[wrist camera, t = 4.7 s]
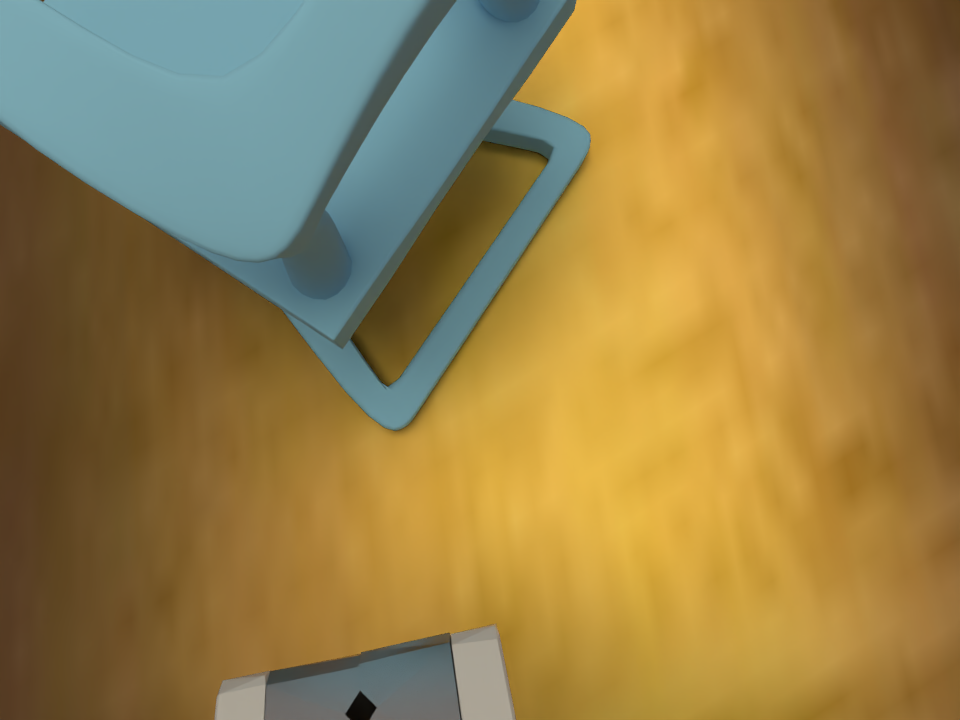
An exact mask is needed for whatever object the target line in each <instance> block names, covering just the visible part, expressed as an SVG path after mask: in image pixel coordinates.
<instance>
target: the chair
mask: <svg viewBox="0 0 960 720" xmlns="http://www.w3.org/2000/svg"><path fill="white" fill-rule="evenodd" d="M575 4H576V0H45V1H44V2H42V1H40V0H0V125H2V126H3V127H5V128H6V129H8V130H10V131H11V132H13V133H14V134H16V135H17V136H19V137H20V138H22V139H23V140H25V141H26V142H27V143H29V144H30V145H31V146H33V147H34V148H35V149H37V150H38V151H40V152H41V153H42V154H44V155H45V156H47V157H48V158H50V159H51V160H53V161H54V162H56V163H57V164H59V165H60V166H62V167H63V168H64V169H66V170H67V171H69V172H70V173H72V174H73V175H75V176H76V177H78V178H79V179H81V180H82V181H84V182H85V183H86V184H88V185H90V186H91V187H93V188H95V189H96V190H98V191H99V192H101V193H103V194H104V195H106V196H108V197H109V198H111V199H112V200H114V201H116V202H117V203H119V204H121V205H122V206H124V207H125V208H127V209H129V210H130V211H132V212H134V213H135V214H137V215H139V216H141V217H142V218H144V219H145V220H147V221H148V222H150V223H152V224H153V225H155V226H156V227H158V228H159V229H161V230H162V231H164V232H165V233H167V234H168V235H170V236H171V237H173V238H175V239H176V240H178V241H179V242H181V243H182V244H184V245H185V246H187V247H188V248H190V249H191V250H193V251H194V252H196V253H197V254H199V255H200V256H202V257H204V258H205V259H207V260H208V261H210V262H211V263H213V264H214V265H216V266H217V267H219V268H220V269H222V270H223V271H225V272H226V273H228V274H229V275H231V276H232V277H234V278H235V279H237V280H238V281H240V282H241V283H243V284H244V285H246V286H247V287H249V288H250V289H252V290H253V291H255V292H256V293H258V294H259V295H261V296H262V297H264V298H265V299H267V300H268V301H270V302H271V303H273V304H274V305H276V306H277V307H279V308H280V309H282V311H283V312H284V313H285V314H286V316H287V317H288V318H289V320H290V321H291V322H292V324H293V325H294V326H295V328H296V329H297V330H298V332H299V333H300V334H301V336H302V337H303V338H304V340H305V341H306V342H307V344H308V345H309V346H310V348H311V349H312V350H313V351H314V353H315V354H316V355H317V356H318V358H319V359H320V360H321V362H322V363H323V364H324V365H325V367H326V368H327V369H328V370H329V372H330V373H331V374H332V375H333V377H334V378H335V379H336V380H337V382H338V383H339V384H340V385H341V387H342V388H343V389H344V390H345V392H346V393H347V394H348V395H349V396H350V397H351V398H352V399H353V400H354V401H355V402H356V403H357V404H358V405H359V406H360V407H361V409H362V410H363V411H364V412H365V413H366V414H367V415H368V416H369V417H371V418H372V419H373V420H375V421H376V422H377V423H379V424H380V425H381V426H383V427H384V428H387V429H390V430H394V431H397V430H400V429H402V428H404V427H406V426H407V425H408V424H409V423H410V422H411V421H412V420H413V419H414V417H415V416H416V414H417V413H418V411H419V410H420V408H421V407H422V405H423V404H424V402H425V401H426V399H427V398H428V396H429V395H430V393H431V392H432V390H433V389H434V387H435V386H436V384H437V383H438V381H439V380H440V378H441V377H442V375H443V374H444V372H445V371H446V369H447V368H448V366H449V364H450V363H451V361H452V360H453V358H454V357H455V355H456V354H457V352H458V351H459V349H460V348H461V346H462V345H463V343H464V342H465V340H466V339H467V337H468V336H469V334H470V333H471V331H472V330H473V328H474V327H475V325H476V324H477V322H478V321H479V319H480V318H481V316H482V315H483V313H484V311H485V310H486V308H487V307H488V305H489V304H490V302H491V301H492V299H493V298H494V296H495V295H496V293H497V292H498V290H499V289H500V287H501V286H502V284H503V283H504V281H505V280H506V278H507V277H508V275H509V274H510V272H511V271H512V269H513V268H514V266H515V265H516V263H517V262H518V260H519V258H520V257H521V255H522V254H523V252H524V251H525V249H526V248H527V246H528V245H529V243H530V242H531V240H532V239H533V237H534V236H535V234H536V233H537V231H538V230H539V228H540V227H541V225H542V224H543V222H544V221H545V219H546V218H547V216H548V215H549V213H550V212H551V210H552V209H553V207H554V205H555V204H556V202H557V201H558V199H559V198H560V196H561V195H562V193H563V192H564V190H565V189H566V187H567V186H568V184H569V183H570V181H571V180H572V178H573V177H574V175H575V174H576V172H577V171H578V169H579V168H580V166H581V164H582V162H583V160H584V159H585V157H586V155H587V153H588V150H589V148H590V141H591V140H590V134H589V132H588V131H587V130H586V129H585V128H584V126H582V125H580V124H578V123H576V122H575V121H573V120H571V119H569V118H568V117H565V116H562V115H559V114H557V113H554V112H551V111H548V110H545V109H543V108H540V107H537V106H533V105H530V104H526V103H522V102H518V101H515V100H512V99H513V98H514V97H515V95H516V94H517V92H518V91H519V90H520V88H521V87H522V85H523V84H524V83H525V81H526V80H527V79H528V77H529V76H530V74H531V73H532V71H533V70H534V69H535V67H536V66H537V64H538V63H539V61H540V60H541V58H542V57H543V55H544V54H545V52H546V51H547V49H548V48H549V47H550V45H551V44H552V42H553V41H554V39H555V38H556V36H557V35H558V33H559V32H560V30H561V29H562V28H563V26H564V25H565V23H566V22H567V20H568V19H569V17H570V16H571V14H572V13H573V11H574V9H575ZM482 141H487V142H492V143H497V144H502V145H507V146H512V147H516V148H520V149H525V150H529V151H534V152H538V153H540V154H541V155H543V156H544V157H546V158H547V159H548V163H547V165H546V167H545V168H544V169H543V171H542V172H541V174H540V175H539V177H538V178H537V180H536V181H535V182H534V184H533V185H532V187H531V188H530V190H529V191H528V193H527V194H526V196H525V197H524V198H523V200H522V201H521V203H520V204H519V206H518V207H517V209H516V210H515V211H514V213H513V214H512V216H511V217H510V219H509V220H508V222H507V223H506V225H505V226H504V227H503V229H502V230H501V232H500V233H499V235H498V236H497V238H496V239H495V240H494V242H493V243H492V245H491V246H490V248H489V249H488V251H487V252H486V254H485V255H484V256H483V258H482V259H481V261H480V262H479V264H478V265H477V267H476V268H475V269H474V271H473V272H472V274H471V275H470V277H469V278H468V280H467V281H466V282H465V284H464V285H463V287H462V288H461V290H460V291H459V293H458V294H457V296H456V297H455V298H454V300H453V301H452V303H451V304H450V306H449V307H448V309H447V310H446V311H445V313H444V314H443V316H442V317H441V319H440V320H439V322H438V323H437V324H436V326H435V327H434V329H433V330H432V332H431V333H430V335H429V336H428V337H427V339H426V340H425V342H424V343H423V345H422V346H421V348H420V349H419V350H418V352H417V353H416V355H415V356H414V358H413V359H412V361H411V362H410V363H409V365H408V366H407V368H406V369H405V371H404V372H403V374H402V375H401V376H400V378H399V379H398V380H396V381H395V382H394V383H392V384H391V385H390V386H388V387H387V386H386V385H384V384H383V383H381V381H380V380H379V378H378V377H377V376H376V374H375V373H374V371H373V370H372V369H371V367H370V366H369V364H368V363H367V362H366V360H365V359H364V357H363V356H362V354H361V353H360V352H359V350H358V349H357V347H356V346H355V344H354V343H353V341H352V340H351V337H352V335H353V334H354V332H355V331H356V329H357V328H358V326H359V325H360V323H361V322H362V320H363V319H364V317H365V316H366V315H367V313H368V312H369V310H370V309H371V307H372V306H373V304H374V303H375V301H376V300H377V298H378V297H379V296H380V294H381V293H382V291H383V290H384V288H385V287H386V285H387V284H388V282H389V281H390V279H391V278H392V276H393V275H394V273H395V272H396V270H397V269H398V267H399V266H400V264H401V262H402V261H403V259H404V258H405V256H406V255H407V253H408V252H409V250H410V249H411V247H412V245H413V244H414V242H415V241H416V239H417V238H418V236H419V235H420V233H421V232H422V230H423V228H424V227H425V225H426V224H427V222H428V221H429V219H430V218H431V216H432V215H433V213H434V211H435V210H436V208H437V207H438V205H439V204H440V202H441V201H442V200H443V198H444V197H445V195H446V194H447V192H448V191H449V189H450V188H451V186H452V185H453V183H454V182H455V180H456V179H457V178H458V176H459V175H460V173H461V172H462V170H463V169H464V167H465V166H466V164H467V163H468V161H469V160H470V159H471V157H472V156H473V154H474V153H475V151H476V150H477V148H478V147H479V145H480V144H481V142H482Z"/></svg>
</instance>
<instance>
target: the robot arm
mask: <svg viewBox="0 0 960 720" xmlns="http://www.w3.org/2000/svg"><path fill="white" fill-rule="evenodd" d="M215 720H516V716H515V711H514V706H513V701H512V696H511V691H510V686H509V681H508V676H507V671H506V666H505V661H504V656H503V651H502V645H501V640H500V635H499V632H498V628H497V625H496V624H493V625H488V626H484V627H480V628H475V629H471V630H467V631H462V632H458V633H454V634H451V635H450V633H445V634H441V635H436V636H432V637H428V638H423V639H419V640H414V641H410V642H405V643H401V644H396V645H392V646H387V647H383V648H379V649H374V650H370V651H365V652H361V654H357V655H352V656H347V657H342V658H337V659H331V660H326V661H321V662H316V663H311V664H305V665H300V666H295V667H290V668H285V669H280V670H274V671H267V672H262V673H257V674H252V675H247V676H243V677H238V678H233V679H228V680H224V681H223V682H222V684H221V687H220V690H219V693H218V695H217V699H216V710H215Z"/></svg>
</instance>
